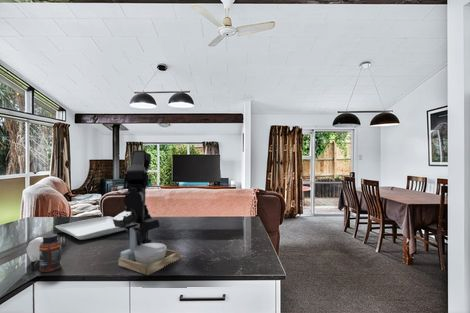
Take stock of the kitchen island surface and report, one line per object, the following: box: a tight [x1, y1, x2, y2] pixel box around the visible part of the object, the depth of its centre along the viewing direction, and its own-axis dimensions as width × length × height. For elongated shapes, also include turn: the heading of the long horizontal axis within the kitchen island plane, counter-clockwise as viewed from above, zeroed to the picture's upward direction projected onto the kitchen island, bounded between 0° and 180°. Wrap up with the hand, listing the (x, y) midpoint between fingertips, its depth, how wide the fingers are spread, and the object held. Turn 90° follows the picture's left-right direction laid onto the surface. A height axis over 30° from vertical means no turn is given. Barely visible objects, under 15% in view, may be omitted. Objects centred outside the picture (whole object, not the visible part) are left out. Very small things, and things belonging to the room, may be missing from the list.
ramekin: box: [134, 242, 168, 266], centre depth 93 cm, size 11×11×5 cm
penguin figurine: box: [25, 236, 43, 262], centre depth 97 cm, size 6×8×12 cm
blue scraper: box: [120, 226, 142, 261], centre depth 97 cm, size 4×10×11 cm, turn 151°
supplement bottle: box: [39, 233, 62, 273], centre depth 87 cm, size 6×6×11 cm
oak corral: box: [118, 248, 181, 276], centre depth 93 cm, size 15×14×2 cm
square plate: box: [54, 216, 126, 241], centre depth 131 cm, size 27×27×4 cm
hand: (136, 244), depth 97 cm, fingers closed on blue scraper, 3 cm apart
